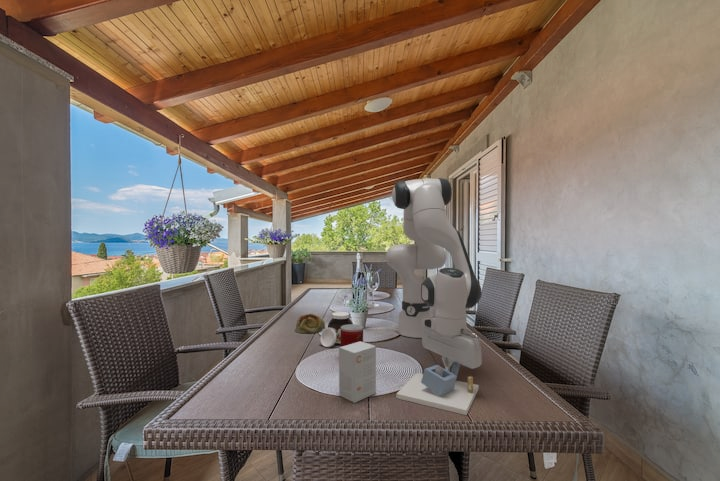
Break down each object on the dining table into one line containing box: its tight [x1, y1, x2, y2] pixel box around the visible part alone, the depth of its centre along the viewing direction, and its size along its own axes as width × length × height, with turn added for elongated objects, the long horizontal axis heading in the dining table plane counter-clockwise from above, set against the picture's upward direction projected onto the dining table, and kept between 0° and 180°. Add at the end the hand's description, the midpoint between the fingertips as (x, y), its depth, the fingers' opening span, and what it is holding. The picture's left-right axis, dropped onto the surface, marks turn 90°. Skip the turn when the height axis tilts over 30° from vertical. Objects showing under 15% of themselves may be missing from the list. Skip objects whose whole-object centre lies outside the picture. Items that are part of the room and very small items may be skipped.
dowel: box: [467, 375, 474, 393], centre depth 93 cm, size 1×1×4 cm
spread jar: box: [320, 311, 354, 348], centre depth 137 cm, size 12×11×12 cm
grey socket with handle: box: [421, 363, 461, 395], centre depth 96 cm, size 12×6×5 cm, turn 137°
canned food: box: [339, 323, 364, 347], centre depth 121 cm, size 8×8×11 cm
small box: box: [338, 341, 377, 404], centre depth 94 cm, size 8×6×13 cm
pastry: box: [295, 313, 326, 335], centre depth 157 cm, size 14×12×8 cm
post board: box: [396, 367, 479, 416], centre depth 94 cm, size 16×18×7 cm
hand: (449, 372), depth 101 cm, fingers closed
